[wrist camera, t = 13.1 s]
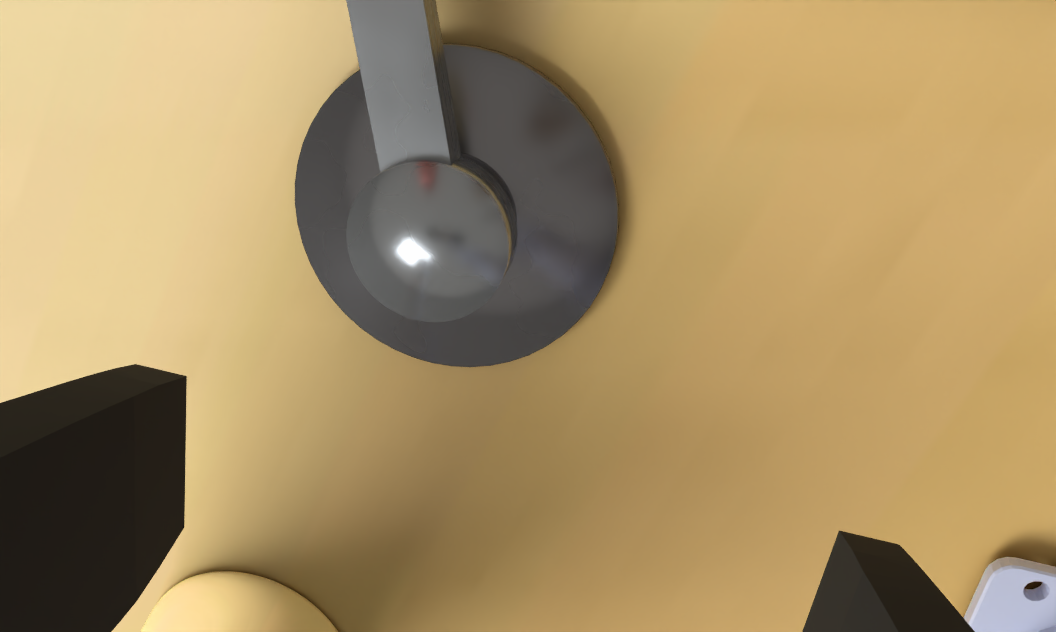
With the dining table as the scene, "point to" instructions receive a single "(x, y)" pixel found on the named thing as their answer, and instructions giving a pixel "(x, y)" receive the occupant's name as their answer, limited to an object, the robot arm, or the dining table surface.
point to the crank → (421, 177)
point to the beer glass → (234, 606)
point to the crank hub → (524, 174)
